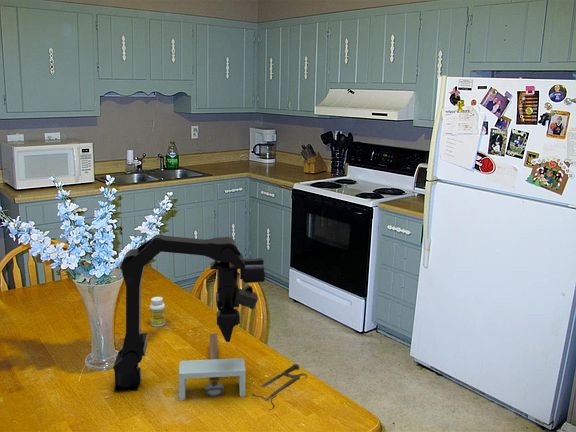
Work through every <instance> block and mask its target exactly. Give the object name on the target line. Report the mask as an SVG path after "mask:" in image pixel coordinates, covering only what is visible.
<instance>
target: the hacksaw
mask: <svg viewBox="0 0 576 432" xmlns="http://www.w3.org/2000/svg"><path fill="white" fill-rule="evenodd" d="M299 368H300V365H299V364H297V363H293V364H292V366H290V367H288V368H287V369H285V370H283V371H282V372H281V374H280V373H279V374H278V375H275V376H274V377H272V378H271V379H269V380H268V381H266V382H265V383H263V384H262V385H260V386H259V388H265V387H267V386H268V385H270V384H272V383H273V382H275V381H277V380H279V379H280V378H281V377H283V376H285V377H289V378H291V379H290V380H288V381H287V382H286V383H285V384H283V385H281V386H280V387H279V388H277V389H276V390H275V391H273V392H272V393H271V394H269V395H268V397H264V396H261V395H256V394H255V393H251V396H253V397H256V398H261V399H263V400H264V402H268V401H269V400H270V403H271V405H272V408H270V409H269V411H271V410H274V409H275V404H274V403H273V399H275V398H276V397H277V396H278V395H277V394H279V393H280V392H281V391H283V390H284V389H287V387H289V386H290V385H292V384H294V382H296V381H297V380H298V379H301V378H300V377H301V376H302V375H303V376H304V375H305V376H308V374H307V373H298V374H291V372H293V371H296V370H299ZM302 379H305V377H304V378H302ZM261 410H264V411H265V409H264V408H261Z"/></svg>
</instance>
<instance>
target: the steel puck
mask: <svg viewBox="0 0 576 432" xmlns="http://www.w3.org/2000/svg"><path fill="white" fill-rule="evenodd" d="M204 390H205V395H206V396H207V397H210V398H218V397H221V396H222V395H223V394H224V384H223V383H222V382H220V381H211V382H208V383H206V384H205V388H204Z"/></svg>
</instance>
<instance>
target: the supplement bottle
mask: <svg viewBox="0 0 576 432" xmlns="http://www.w3.org/2000/svg"><path fill="white" fill-rule="evenodd" d="M149 319H150V320H149V322H150V326H152V327H158V328H159V327H162V326H164V325H166V323H167V320H166V319H167V318H166V304H165V303H164V299H163V297H162V296H154V297H152V298H151V299H150V305H149Z"/></svg>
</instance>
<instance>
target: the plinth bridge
mask: <svg viewBox="0 0 576 432" xmlns="http://www.w3.org/2000/svg"><path fill="white" fill-rule="evenodd" d="M245 363H246V362H245V358H244V357H237V358H234V357H233V358H218V359H212V360H210V359H195V360H193V359H192V360H191V359H190V360H180V361H179V367H178V394H179V395H178V396H179V398H178V399H179V401H185V400H186V392H187V379H202V378H204V379H206V378H210V377H219V378H222V377H223V378H224V377H225V378H226V377H238V388H239V389H238V390H239V398H243V397H246V364H245Z"/></svg>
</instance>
